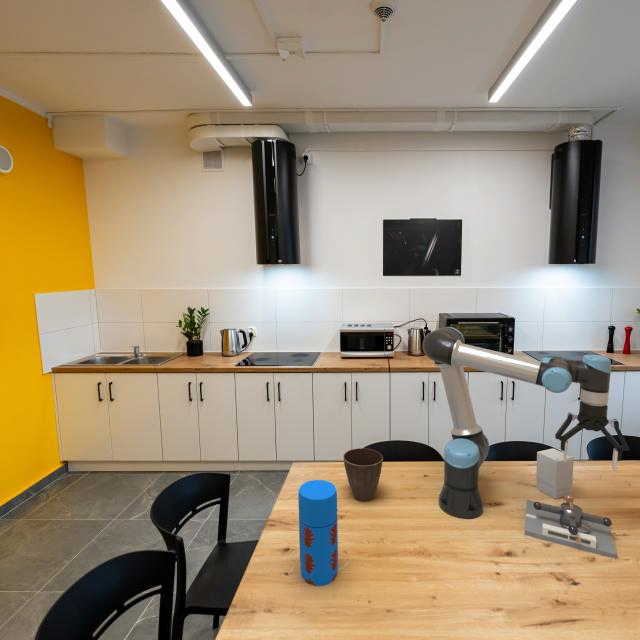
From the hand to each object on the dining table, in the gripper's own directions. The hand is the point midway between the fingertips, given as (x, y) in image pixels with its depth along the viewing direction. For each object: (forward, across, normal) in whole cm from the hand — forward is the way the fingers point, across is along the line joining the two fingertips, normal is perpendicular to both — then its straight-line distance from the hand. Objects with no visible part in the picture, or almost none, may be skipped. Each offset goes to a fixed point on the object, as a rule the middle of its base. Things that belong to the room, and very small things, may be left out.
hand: (588, 464), depth 131 cm
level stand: (+20, +6, +7) cm, 22 cm away
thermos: (+21, +69, +62) cm, 95 cm away
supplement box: (+21, +9, -17) cm, 28 cm away
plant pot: (+21, +73, +20) cm, 78 cm away
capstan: (+19, +5, +8) cm, 21 cm away
